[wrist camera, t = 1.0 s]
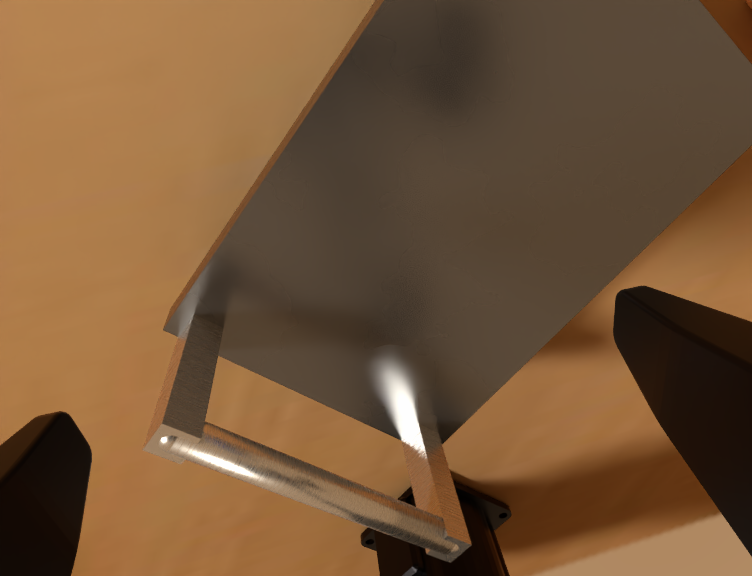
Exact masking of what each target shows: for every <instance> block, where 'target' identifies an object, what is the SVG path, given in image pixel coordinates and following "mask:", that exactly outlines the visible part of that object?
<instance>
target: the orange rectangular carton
mask: <svg viewBox="0 0 752 576" xmlns="http://www.w3.org/2000/svg"><path fill="white" fill-rule="evenodd" d="M746 3H747V4H748V5H749V7H750V8H751V9H752V0H746Z"/></svg>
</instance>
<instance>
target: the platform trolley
mask: <svg viewBox="0 0 752 576" xmlns="http://www.w3.org/2000/svg"><path fill="white" fill-rule="evenodd" d="M751 145H752V64H751V63H750V62H749V60H748V59H747V58H746V57H745V56H744V54H743V53H742V52H741V51H740V49H739V48H738V47H737V46H736V45H735V43H734V42H733V41H732V40H731V38H730V37H729V36H728V35H727V34H726V32H725V31H724V30H723V29H722V28H721V26H720V25H719V24H718V23H717V21H716V20H715V19H714V18H713V17H712V15H711V14H710V13H709V12H708V10H707V9H706V8H705V7H704V6H703V4H702V3H701V2H700V1H699V0H376V1H375V2H374V4H373V5H372V7H371V8H370V10H369V11H368V13H367V14H366V16H365V17H364V19H363V20H362V22H361V23H360V25H359V26H358V28H357V29H356V31H355V32H354V34H353V35H352V37H351V38H350V40H349V41H348V43H347V44H346V46H345V47H344V49H343V50H342V52H341V53H340V55H339V56H338V58H337V59H336V61H335V62H334V64H333V65H332V67H331V68H330V70H329V71H328V73H327V74H326V76H325V77H324V79H323V80H322V82H321V83H320V85H319V86H318V88H317V89H316V91H315V92H314V94H313V95H312V97H311V98H310V100H309V101H308V103H307V104H306V106H305V107H304V109H303V110H302V112H301V113H300V115H299V116H298V118H297V119H296V121H295V122H294V124H293V125H292V127H291V128H290V130H289V131H288V133H287V134H286V136H285V137H284V139H283V140H282V142H281V143H280V145H279V146H278V148H277V149H276V151H275V152H274V154H273V155H272V157H271V158H270V160H269V161H268V163H267V165H266V166H265V168H264V169H263V171H262V172H261V174H260V175H259V177H258V178H257V180H256V181H255V183H254V184H253V186H252V187H251V189H250V190H249V192H248V193H247V195H246V196H245V198H244V199H243V201H242V202H241V204H240V205H239V207H238V208H237V210H236V211H235V213H234V214H233V216H232V217H231V219H230V220H229V222H228V223H227V225H226V226H225V228H224V229H223V231H222V232H221V234H220V235H219V237H218V238H217V240H216V241H215V243H214V244H213V246H212V247H211V249H210V250H209V252H208V253H207V255H206V256H205V258H204V259H203V261H202V262H201V264H200V265H199V267H198V268H197V270H196V271H195V273H194V274H193V276H192V277H191V279H190V280H189V282H188V283H187V285H186V286H185V288H184V289H183V291H182V292H181V294H180V295H179V297H178V298H177V300H176V301H175V303H174V304H173V306H172V307H171V309H170V312H169V315H168V317H167V320H166V323H165V326H164V328H163V330H164V331H166V332H169V333H171V334H173V335H175V336H177V337H178V339H177V342H176V345H175V349H174V352H173V355H172V358H171V361H170V364H169V367H168V371H167V374H166V377H165V380H164V383H163V386H162V390H161V393H160V396H159V399H158V402H157V405H156V409H155V412H154V415H153V418H152V421H151V424H150V428H149V431H148V434H147V437H146V440H145V443H144V447H143V451H146V452H149V453H152V454H154V455H157V456H160V457H162V458H165V459H168V460H171V461H173V462H176V463H179V464H182V463H183V462H184V460H188V461H191V462H193V463H196V464H199V465H201V466H204V467H207V468H209V469H212V470H215V471H217V472H220V473H223V474H226V475H228V476H231V477H234V478H236V479H239V480H242V481H244V482H247V483H250V484H253V485H255V486H258V487H261V488H263V489H266V490H269V491H271V492H274V493H277V494H280V495H282V496H285V497H288V498H290V499H293V500H296V501H298V502H301V503H304V504H307V505H309V506H312V507H315V508H317V509H320V510H323V511H325V512H328V513H331V514H334V515H336V516H339V517H342V518H344V519H347V520H350V521H352V522H355V523H358V524H361V525H363V526H366V527H369V528H371V529H374V530H377V531H379V532H382V533H385V534H388V535H390V536H393V537H396V538H398V539H401V540H404V541H406V542H409V543H412V544H415V545H417V546H420V547H423V548H425V550H426V554H428V555H431V556H433V557H436V558H439V559H441V560H444V561H447V562H450V563H451V562H452V561H453V560H455V559H456V558H457V557H458V556H459V555H461V554H462V553H463V552H464V551H465V550H466V549H468V548H469V547H470V546H471V545H472V544H471V540H470V537H469V534H468V530H467V527H466V524H465V520H464V517H463V514H462V510H461V507H460V504H459V500H458V497H457V493H456V490H455V487H454V483H453V480H452V477H451V473H450V470H449V467H448V463H447V460H446V457H445V453H444V450H443V447H442V444H443V443H444V442H445V441H446V440H447V439H448V438H449V437H450V436H451V435H452V434H453V433H454V432H455V431H456V430H458V429H459V428H460V427H461V426H462V425H463V424H464V423H465V422H466V421H467V420H468V419H469V418H470V417H471V416H472V415H473V414H474V413H475V412H476V411H477V410H478V409H479V408H480V407H481V406H482V405H483V404H484V403H485V402H486V401H488V400H489V399H490V398H491V397H492V396H493V395H494V394H495V393H496V392H497V391H498V390H499V389H500V388H501V387H502V386H503V385H504V384H505V383H506V382H507V381H508V380H509V379H510V378H511V377H512V376H513V375H514V374H515V373H516V372H518V371H519V370H520V369H521V368H522V367H523V366H524V365H525V364H526V363H527V362H528V361H529V360H530V359H531V358H532V357H533V356H534V355H535V354H536V353H537V352H538V351H539V350H540V349H541V348H542V347H543V346H544V345H545V344H546V343H548V342H549V341H550V340H551V339H552V338H553V337H554V336H555V335H556V334H557V333H558V332H559V331H560V330H561V329H562V328H563V327H564V326H565V325H566V324H567V323H568V322H569V321H570V320H571V319H572V318H573V317H574V316H575V315H576V314H578V313H579V312H580V311H581V310H582V309H583V308H584V307H585V306H586V305H587V304H588V303H589V302H590V301H591V300H592V299H593V298H594V297H595V296H596V295H597V294H598V293H599V292H600V291H601V290H602V289H603V288H604V287H605V286H606V285H608V284H609V283H610V282H611V281H612V280H613V279H614V278H615V277H616V276H617V275H618V274H619V273H620V272H621V271H622V270H623V269H624V268H625V267H626V266H627V265H628V264H629V263H630V262H631V261H632V260H633V259H634V258H635V257H636V256H638V255H639V254H640V253H641V252H642V251H643V250H644V249H645V248H646V247H647V246H648V245H649V244H650V243H651V242H652V241H653V240H654V239H655V238H656V237H657V236H658V235H659V234H660V233H661V232H662V231H663V230H664V229H665V228H666V227H668V226H669V225H670V224H671V223H672V222H673V221H674V220H675V219H676V218H677V217H678V216H679V215H680V214H681V213H682V212H683V211H684V210H685V209H686V208H687V207H688V206H689V205H690V204H691V203H692V202H693V201H694V200H695V199H696V198H698V197H699V196H700V195H701V194H702V193H703V192H704V191H705V190H706V189H707V188H708V187H709V186H710V185H711V184H712V183H713V182H714V181H715V180H716V179H717V178H718V177H719V176H720V175H721V174H722V173H723V172H724V171H725V170H726V169H728V168H729V167H730V166H731V165H732V164H733V163H734V162H735V161H736V160H737V159H738V158H739V157H740V156H741V155H742V154H743V153H744V152H745V151H746V150H747V149H748V148H749V147H750V146H751ZM218 356H220V357H223V358H225V359H227V360H229V361H231V362H233V363H235V364H238V365H240V366H242V367H244V368H246V369H248V370H251V371H253V372H255V373H257V374H259V375H261V376H263V377H266V378H268V379H270V380H272V381H274V382H276V383H279V384H281V385H283V386H285V387H287V388H289V389H292V390H294V391H296V392H298V393H300V394H302V395H304V396H307V397H309V398H311V399H313V400H315V401H317V402H320V403H322V404H324V405H326V406H328V407H330V408H332V409H335V410H337V411H339V412H341V413H343V414H345V415H348V416H350V417H352V418H354V419H356V420H358V421H360V422H363V423H365V424H367V425H369V426H371V427H373V428H376V429H378V430H380V431H382V432H384V433H386V434H389V435H391V436H393V437H395V438H397V439H399V440H401V441H402V444H403V449H404V453H405V458H406V463H407V467H408V472H409V476H410V481H411V485H412V490H413V495H414V499H415V504H416V507H415V506H412V505H410V504H407V503H405V502H402V501H400V500H398V499H395V498H393V497H390V496H388V495H385V494H383V493H380V492H378V491H375V490H373V489H371V488H368V487H366V486H363V485H361V484H358V483H356V482H353V481H351V480H348V479H346V478H343V477H341V476H339V475H336V474H334V473H331V472H329V471H326V470H324V469H321V468H319V467H316V466H314V465H312V464H309V463H307V462H304V461H302V460H299V459H297V458H294V457H292V456H289V455H287V454H284V453H282V452H280V451H277V450H275V449H272V448H270V447H267V446H265V445H262V444H260V443H257V442H255V441H253V440H250V439H248V438H245V437H243V436H240V435H238V434H235V433H233V432H230V431H228V430H225V429H223V428H221V427H218V426H216V425H213V424H211V423H208V422H206V421H205V418H206V413H207V408H208V403H209V398H210V393H211V388H212V383H213V378H214V373H215V368H216V363H217V358H218Z"/></svg>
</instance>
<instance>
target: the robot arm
mask: <svg viewBox="0 0 752 576" xmlns="http://www.w3.org/2000/svg"><path fill="white" fill-rule="evenodd" d="M613 335H614V340H615V343H616V345H617V347H618V349H619V351H620V353H621V355H622V357H623V358H624V360H625V362H626V364H627V366H628V368H629V370H630V371H631V373H632V375H633V377H634V379H635V381H636V382H637V384H638V386H639V388H640V390H641V392H642V394H643V395H644V397H645V399H646V401H647V403H648V405H649V406H650V408H651V410H652V412H653V414H654V415H655V417H656V419H657V420H658V422H659V424H660V425H661V427H662V428H663V430H664V431H665V433H666V434H667V436H668V437H669V439H670V440H671V442H672V443H673V444H674V446H675V447H676V449H677V450H678V452H679V453H680V454H681V456H682V457H683V459H684V460H685V462H686V463H687V464H688V466H689V467H690V469H691V470H692V472H693V473H694V474H695V476H696V477H697V479H698V480H699V482H700V483H701V485H702V486H703V487H704V489H705V490H706V492H707V493H708V495H709V496H710V497H711V499H712V500H713V502H714V503H715V505H716V506H717V507H718V509H719V510H720V512H721V513H722V515H723V516H724V517H725V519H726V520H727V522H728V523H729V525H730V526H731V527H732V529H733V530H734V532H735V533H736V535H737V536H738V538H739V539H740V540H741V542H742V543H743V545H744V546H745V547H746V549H747V550H748V552H749V553H750V555H751V556H752V322H750V321H748V320H745V319H742V318H739V317H736V316H733V315H730V314H727V313H724V312H721V311H718V310H715V309H712V308H709V307H706V306H703V305H700V304H697V303H694V302H691V301H689V300H686V299H683V298H680V297H677V296H674V295H671V294H668V293H665V292H662V291H659V290H656V289H653V288H650V287H647V286H638V287H633V288H628V289H624V290H621V291H620V292H618V293H617V296H616V300H615V313H614V327H613ZM91 463H92V453H91V449H90V446H89V444H88V442H87V441H86V439H85V438H84V436H83V435H82V433H81V431H80V430H79V428H78V427H77V425H76V424H75V422H74V421H73V419H72V418H71V416H70V415H69V414H67V413H66V412H62V411H59V412H54V413H49V414H45V415H40V416H38V417H35V418H34V419H33V420H31V421H30V422H29V423H28V424H26V425H25V426H24V427H23V428H21V429H20V430H19V431H18V432H16V433H15V434H14V435H13V436H11V437H10V438H9V439H8V440H7V441H5V442H4V443H3V444H2V445H0V576H71V573H72V569H73V566H74V561H75V557H76V553H77V549H78V543H79V538H80V533H81V526H82V520H83V514H84V507H85V501H86V495H87V488H88V482H89V476H90V469H91ZM453 483H454V487H455V490H456V493H457V497H458V500H459V504H460V507H461V510H462V514H463V517H464V520H465V524H466V527H467V530H468V534H469V537H470V540H471V544H472V545H471V546H470V547H469V548H468V549H466V550H465V551H464V552H463V553H462V554H461V555H459V556H458V557H457V558H456V559H455V560H453V561H452V562H451V563H450V562H447V561H444V560H441V559H439V558H436V557H433V556H431V555H428V554H426V550H425V548H423V547H420V546H417V545H415V544H412V543H409V542H406V541H404V540H401V539H398V538H396V537H393V536H390V535H388V534H385V533H382V532H379V531H377V530H374V529H371V528H369V527H368V528H367V529H366V530H365V531H364V532H363V533H362V534H361V544H362V546H364V547H367V548H369V549H372V550H375V551H377V557H378V564H379V571H380V576H510V575H509V573H508V570H507V567H506V564H505V561H504V558H503V555H502V552H501V549H500V547H499V544H498V541H497V538H496V535H495V532H494V530H496V529H497V528H498V527H499V526H500V525H502V524H503V523H504V522H505V521H506V520H508V519H509V518H510V517H511V511H510V509H509V506H508V505H506V504H504V503H502V502H500V501H497V500H495V499H493V498H491V497H488V496H486V495H484V494H482V493H480V492H477V491H475V490H473V489H471V488H468V487H466V486H464V485H462V484H459V483H457V482H455V481H453ZM398 500H400V501H402V502H405V503H407V504H410V505H412V506H415V507H416V504H415V499H414V495H413V490H412V486H411V487H410V488H409V489H408V490H407V491H406V492H405V493H404V494H403V495H402V496H401V497H400V498H399V499H398Z"/></svg>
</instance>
